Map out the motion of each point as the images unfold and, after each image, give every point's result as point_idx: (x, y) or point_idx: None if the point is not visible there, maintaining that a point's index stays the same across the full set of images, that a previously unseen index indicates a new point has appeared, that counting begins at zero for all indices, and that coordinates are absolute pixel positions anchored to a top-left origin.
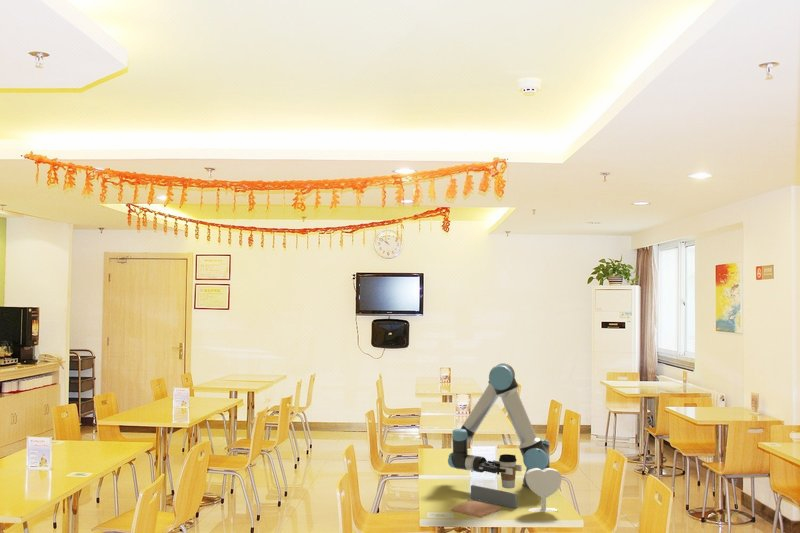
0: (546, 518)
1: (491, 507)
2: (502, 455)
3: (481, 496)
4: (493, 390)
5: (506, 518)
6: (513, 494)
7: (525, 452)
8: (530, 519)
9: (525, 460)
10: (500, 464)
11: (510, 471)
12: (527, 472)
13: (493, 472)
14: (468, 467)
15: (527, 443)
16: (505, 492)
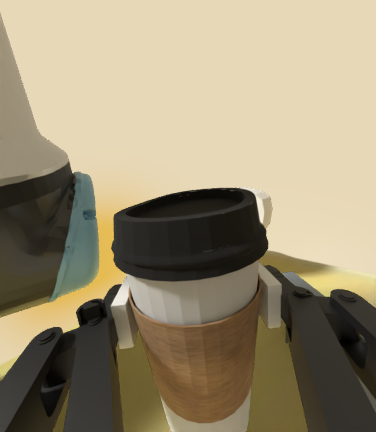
0: (263, 256)
1: None
2: (177, 223)
3: None
4: None
5: (358, 277)
6: (296, 275)
7: (77, 196)
8: (297, 261)
9: (97, 237)
10: (255, 281)
11: None
12: (263, 196)
13: (362, 341)
14: None
15: (49, 145)
16: (319, 294)
